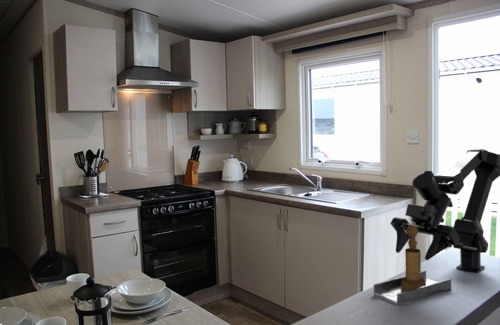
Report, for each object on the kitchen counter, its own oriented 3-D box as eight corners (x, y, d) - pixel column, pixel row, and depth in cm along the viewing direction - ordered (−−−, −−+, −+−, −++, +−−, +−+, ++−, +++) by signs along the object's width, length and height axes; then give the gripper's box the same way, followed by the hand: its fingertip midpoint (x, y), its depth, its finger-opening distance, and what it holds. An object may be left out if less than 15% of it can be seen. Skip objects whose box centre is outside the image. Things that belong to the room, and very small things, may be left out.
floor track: (424, 280, 127) (424, 270, 127) (451, 289, 119) (451, 279, 119) (373, 294, 118) (373, 284, 118) (398, 305, 110) (398, 294, 110)
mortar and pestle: (424, 295, 114) (422, 229, 113) (399, 291, 118) (397, 227, 116) (427, 286, 120) (426, 223, 119) (403, 283, 123) (401, 222, 122)
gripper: (393, 190, 127) (369, 233, 122) (453, 196, 112) (428, 246, 106) (410, 212, 132) (388, 254, 127) (469, 221, 117) (447, 269, 111)
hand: (411, 255), depth 118 cm, fingers open, 9 cm apart
